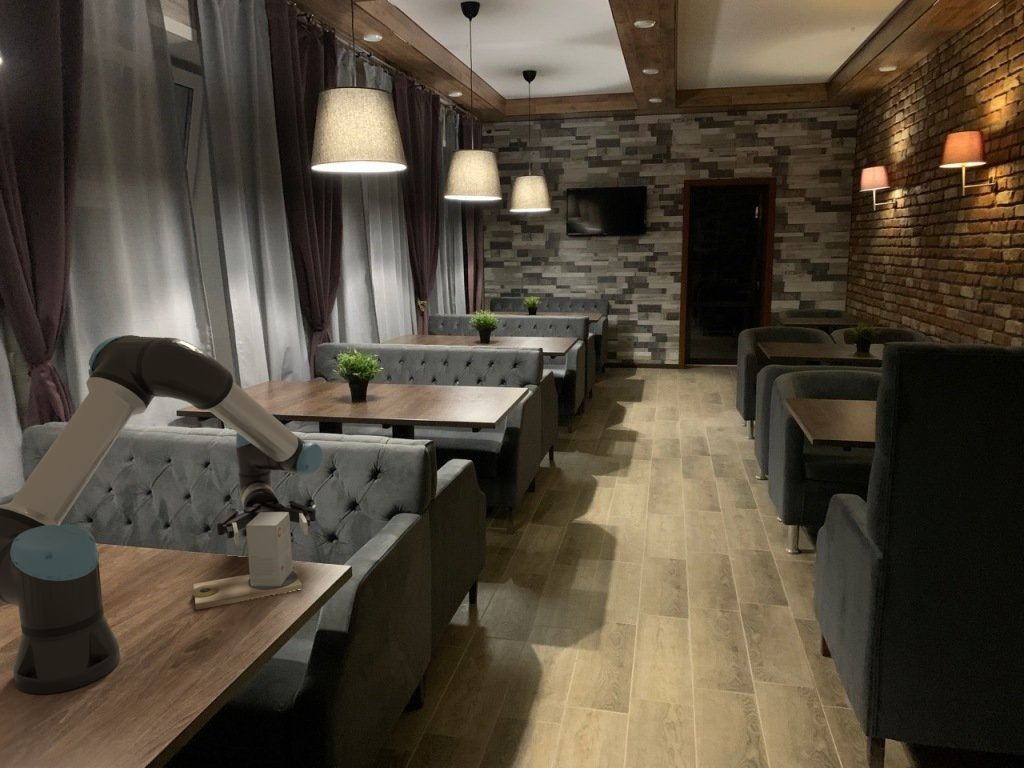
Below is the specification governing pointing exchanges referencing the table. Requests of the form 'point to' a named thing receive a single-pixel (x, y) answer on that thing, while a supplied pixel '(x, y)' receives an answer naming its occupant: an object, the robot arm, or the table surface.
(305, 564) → the table surface
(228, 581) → the board
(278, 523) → the small box
